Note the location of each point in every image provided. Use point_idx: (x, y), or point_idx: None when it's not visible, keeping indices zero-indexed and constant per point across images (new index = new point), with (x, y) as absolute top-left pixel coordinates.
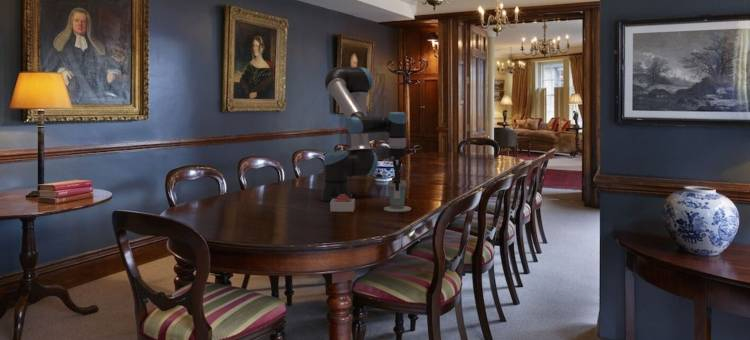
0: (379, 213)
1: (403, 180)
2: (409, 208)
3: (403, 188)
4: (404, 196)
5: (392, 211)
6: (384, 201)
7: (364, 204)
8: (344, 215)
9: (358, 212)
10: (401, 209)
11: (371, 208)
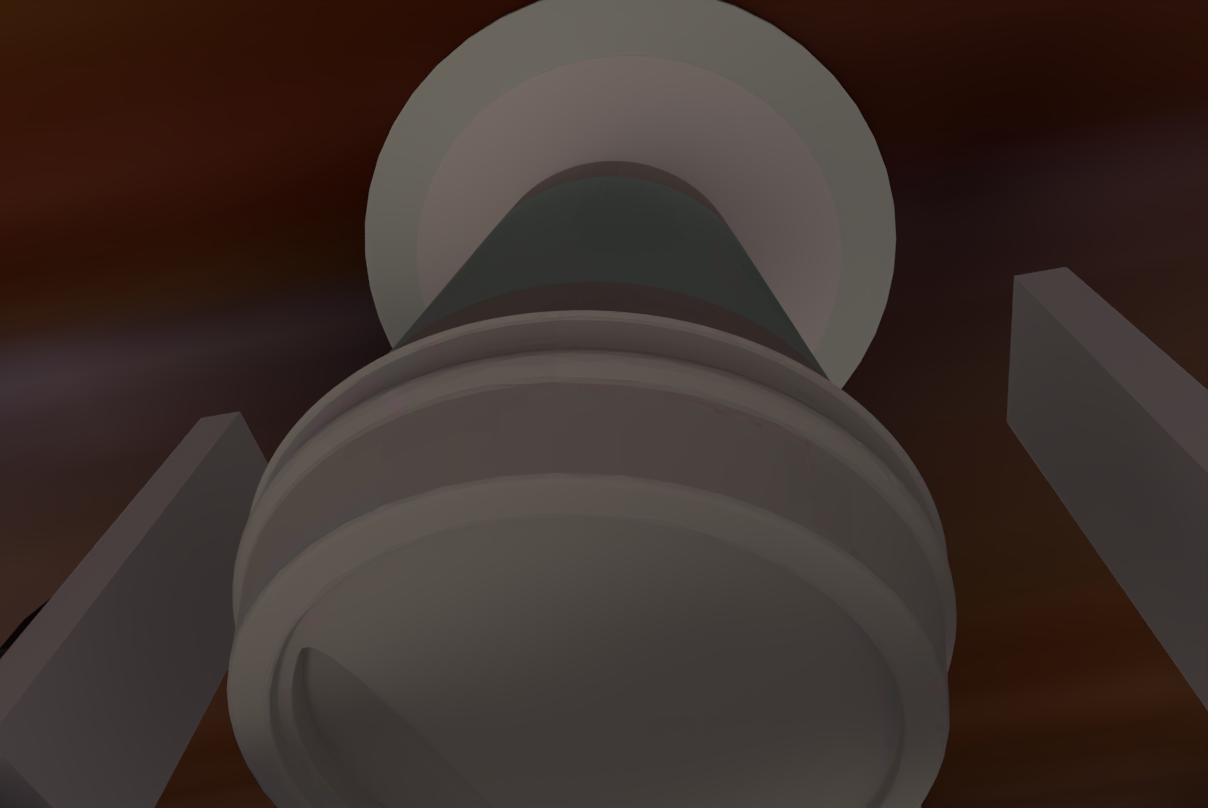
0: (1032, 465)
1: (328, 587)
2: (607, 23)
3: (781, 352)
4: (649, 223)
5: (877, 309)
6: (31, 573)
7: None
8: (1145, 775)
9: (949, 695)
10: (776, 172)
11: None
